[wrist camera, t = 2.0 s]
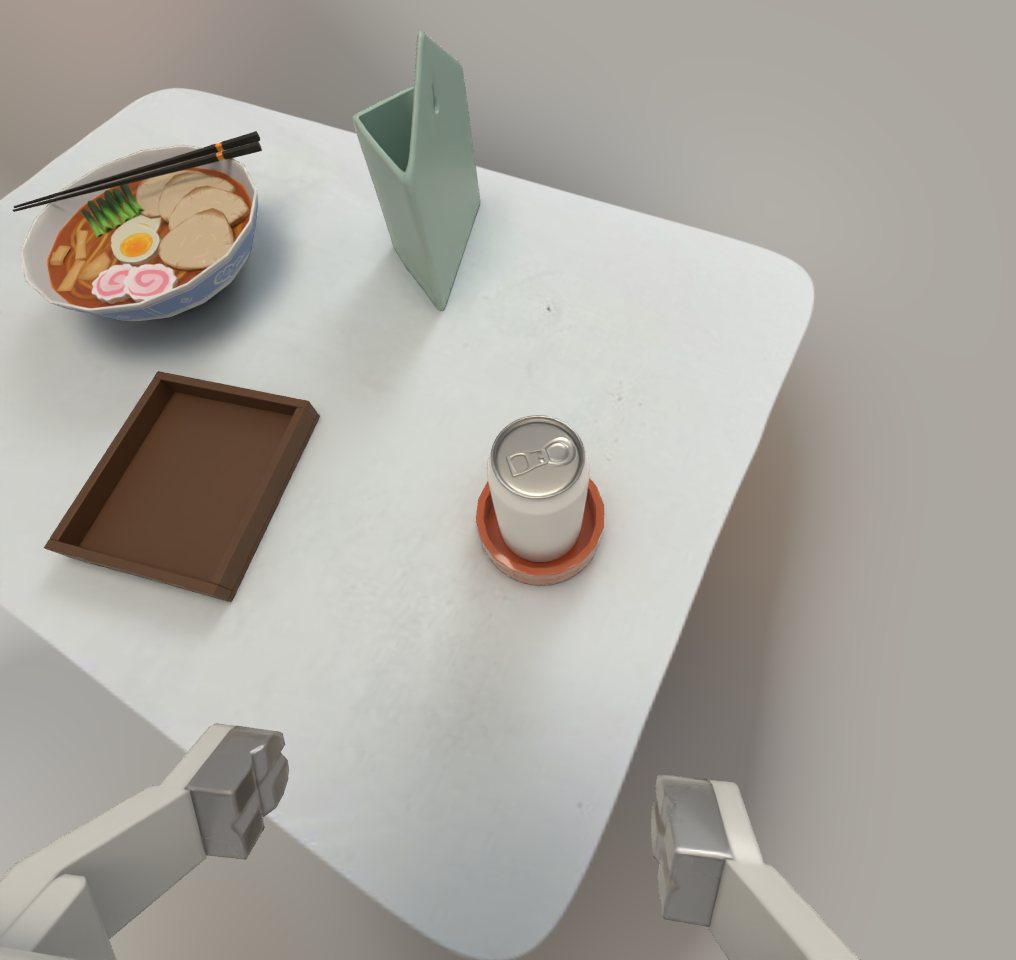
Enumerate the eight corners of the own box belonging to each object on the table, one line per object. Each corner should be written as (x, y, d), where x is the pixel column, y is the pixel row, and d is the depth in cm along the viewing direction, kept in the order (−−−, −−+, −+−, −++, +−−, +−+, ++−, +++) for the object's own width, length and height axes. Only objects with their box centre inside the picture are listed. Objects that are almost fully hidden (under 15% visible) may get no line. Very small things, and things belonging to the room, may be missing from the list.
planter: (414, 195, 60) (358, -27, 43) (481, 201, 59) (452, -26, 41) (370, 303, 54) (282, 93, 36) (444, 311, 53) (390, 99, 35)
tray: (231, 602, 41) (213, 595, 39) (68, 557, 44) (43, 547, 42) (320, 416, 48) (308, 400, 46) (174, 386, 51) (157, 370, 49)
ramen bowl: (64, 392, 52) (-17, 337, 44) (78, 238, 61) (14, 171, 54) (312, 324, 53) (274, 259, 46) (288, 184, 63) (254, 112, 55)
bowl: (588, 598, 40) (591, 589, 37) (465, 568, 41) (460, 557, 38) (611, 486, 43) (615, 469, 41) (497, 462, 45) (494, 445, 42)
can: (592, 549, 41) (609, 486, 30) (513, 575, 40) (500, 519, 30) (564, 478, 44) (570, 396, 33) (490, 501, 43) (471, 426, 32)
